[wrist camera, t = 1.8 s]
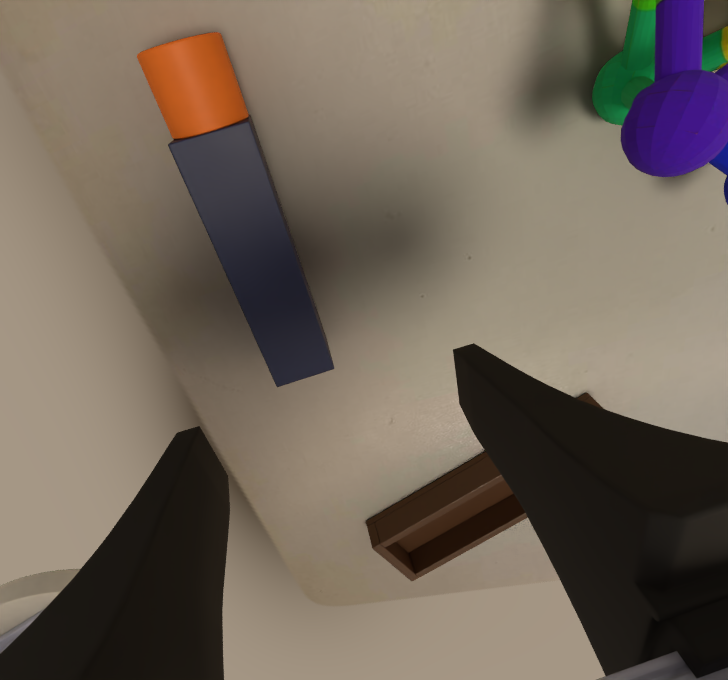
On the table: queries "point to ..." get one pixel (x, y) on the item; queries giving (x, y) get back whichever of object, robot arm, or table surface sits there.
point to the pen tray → (447, 517)
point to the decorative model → (668, 90)
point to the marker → (237, 200)
